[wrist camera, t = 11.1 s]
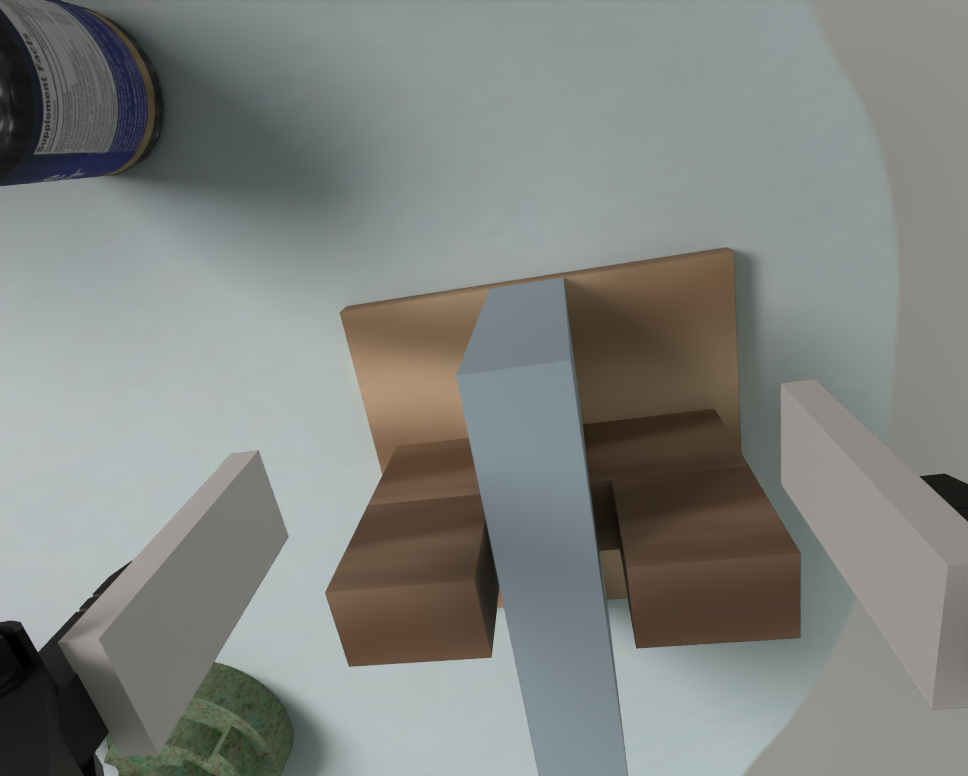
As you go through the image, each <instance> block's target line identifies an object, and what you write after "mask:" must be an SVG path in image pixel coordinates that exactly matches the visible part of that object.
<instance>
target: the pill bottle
mask: <svg viewBox="0 0 968 776" xmlns="http://www.w3.org/2000/svg"><path fill="white" fill-rule="evenodd" d="M162 109H163V106H162V95H161V89H160V86H159V83H158V79H157V75H156V73H155V71H154V69H153V66H152V64H151V62H150V60H149V59H148V57H147V56H146V54H145V53H144V51H143V50H142V48H141V47H140V46H139V44H138V43H137V42H136V40H135V39H134V38H133V37H132V36H131V35H130V34H129V33H128V32H126V31H125V30H124V29H123V28H121V27H120V26H119V25H118V24H116V23H115V22H113V21H112V20H110V19H108V18H106V17H103V16H101V15H100V14H98V13H97V12H95V11H92V10H90V9H87V8H84V7H80V6H77V5H73V4H69V3H66V2H63V1H60V0H0V186H7V185H17V184H29V183H39V182H49V181H58V180H69V179H79V178H89V177H98V176H109V175H115V174H118V173H121V172H124V171H125V170H127V169H129V168H130V167H131V166H132V165H135V164H137V163H139V162H141V161H143V160H144V159H145V158H146V157H147V156H148V155H149V154H150V152H151V151H152V149H153V148H154V146H155V145H156V142H157V140H158V138H159V135H160V129H161V125H162Z"/></svg>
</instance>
